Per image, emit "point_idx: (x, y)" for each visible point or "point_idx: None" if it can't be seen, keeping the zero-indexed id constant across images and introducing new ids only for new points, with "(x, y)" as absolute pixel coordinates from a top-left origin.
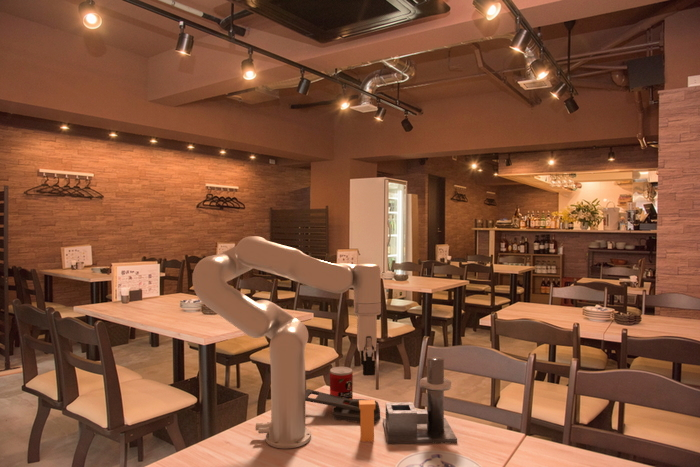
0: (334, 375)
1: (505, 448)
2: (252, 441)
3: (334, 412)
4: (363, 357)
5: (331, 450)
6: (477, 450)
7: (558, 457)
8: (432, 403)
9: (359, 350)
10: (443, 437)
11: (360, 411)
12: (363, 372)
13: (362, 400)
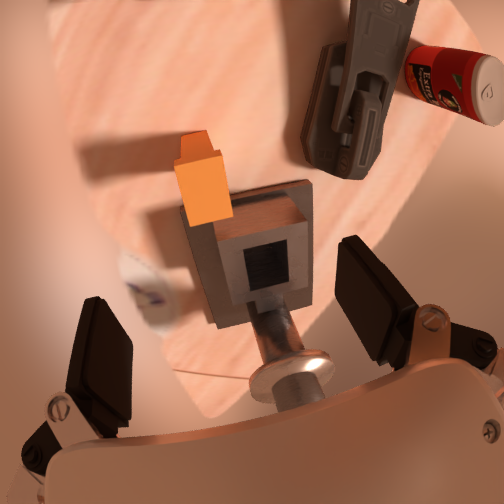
0: (473, 63)
1: (213, 368)
2: None
3: (336, 44)
4: (364, 285)
5: (113, 71)
6: (196, 345)
7: (202, 399)
8: (260, 341)
9: (49, 461)
10: (218, 311)
11: (211, 150)
12: (83, 312)
13: (222, 170)
